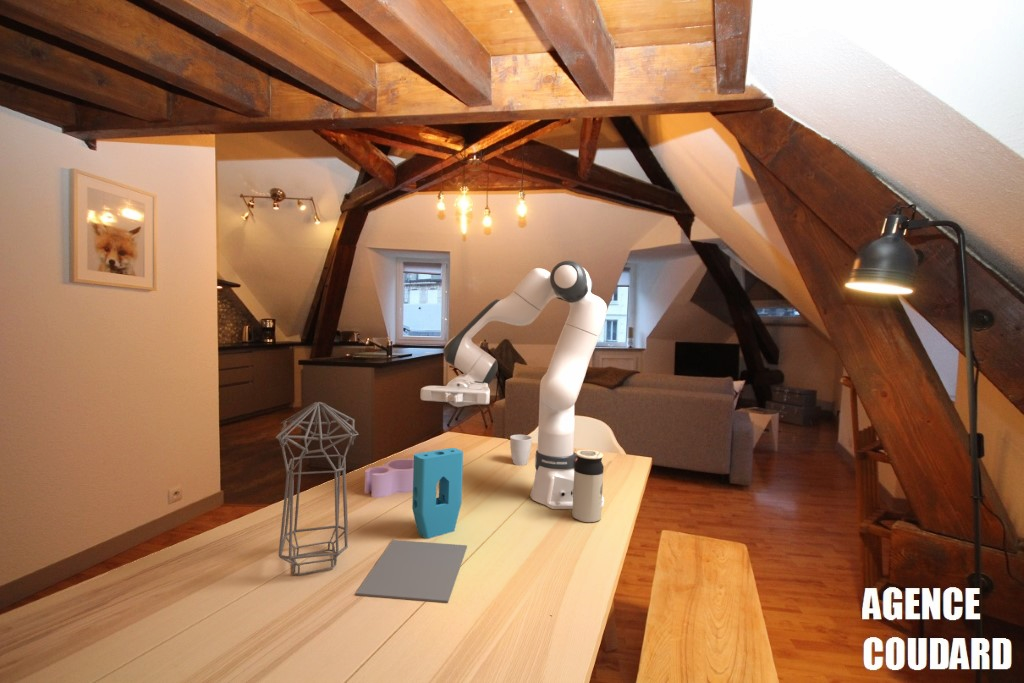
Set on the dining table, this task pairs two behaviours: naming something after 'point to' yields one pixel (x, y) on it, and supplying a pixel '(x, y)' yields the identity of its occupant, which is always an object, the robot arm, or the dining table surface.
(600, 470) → the travel mug
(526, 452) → the cup
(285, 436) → the geometric lantern
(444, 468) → the block
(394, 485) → the clip
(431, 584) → the mat
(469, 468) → the dining table surface
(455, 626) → the dining table surface
